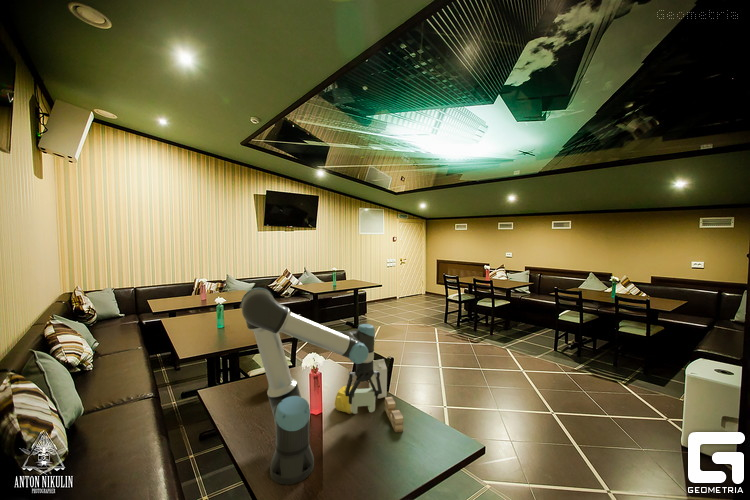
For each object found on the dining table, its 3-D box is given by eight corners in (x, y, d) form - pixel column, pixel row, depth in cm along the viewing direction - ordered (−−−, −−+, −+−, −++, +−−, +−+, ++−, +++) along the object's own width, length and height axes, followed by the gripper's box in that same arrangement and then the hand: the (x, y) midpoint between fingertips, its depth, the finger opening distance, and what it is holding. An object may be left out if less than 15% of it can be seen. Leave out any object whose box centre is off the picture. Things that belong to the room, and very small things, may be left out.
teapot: (347, 422, 136) (347, 398, 136) (326, 416, 141) (327, 393, 140) (364, 402, 153) (365, 382, 152) (345, 397, 157) (346, 377, 157)
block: (373, 412, 133) (374, 391, 133) (353, 413, 131) (354, 393, 131) (371, 407, 136) (372, 388, 136) (352, 409, 134) (353, 389, 134)
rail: (403, 431, 130) (403, 418, 130) (395, 432, 129) (395, 418, 129) (391, 408, 148) (391, 396, 147) (384, 409, 147) (385, 397, 147)
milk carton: (368, 393, 162) (369, 358, 161) (380, 390, 165) (381, 356, 164) (374, 399, 156) (375, 363, 155) (386, 397, 159) (387, 361, 158)
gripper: (386, 355, 139) (384, 403, 140) (339, 357, 135) (337, 407, 135) (390, 362, 132) (388, 412, 133) (341, 364, 127) (339, 416, 128)
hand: (362, 409), depth 134 cm, fingers closed on block, 9 cm apart
